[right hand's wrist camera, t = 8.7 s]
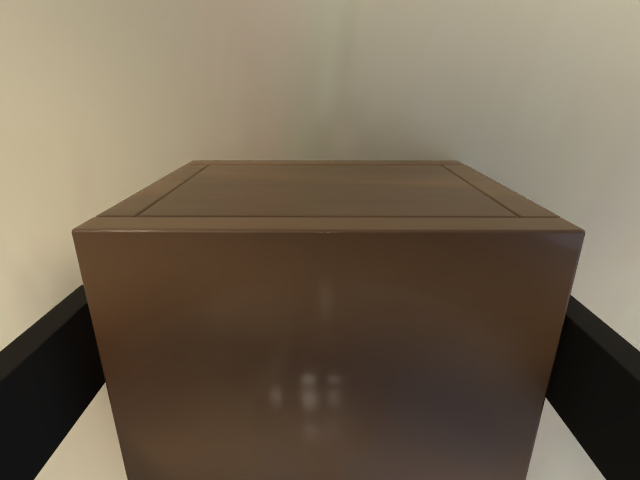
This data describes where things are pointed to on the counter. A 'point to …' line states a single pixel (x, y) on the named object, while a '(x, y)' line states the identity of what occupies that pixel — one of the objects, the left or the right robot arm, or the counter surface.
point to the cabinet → (327, 320)
